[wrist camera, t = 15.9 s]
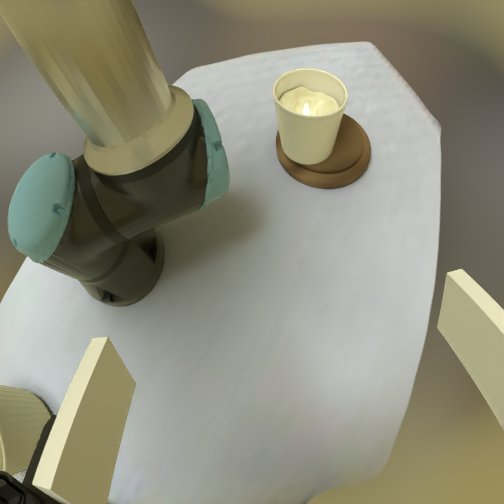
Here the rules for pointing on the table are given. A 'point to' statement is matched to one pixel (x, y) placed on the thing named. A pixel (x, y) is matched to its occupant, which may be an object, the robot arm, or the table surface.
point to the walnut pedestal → (333, 159)
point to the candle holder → (309, 113)
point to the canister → (19, 427)
